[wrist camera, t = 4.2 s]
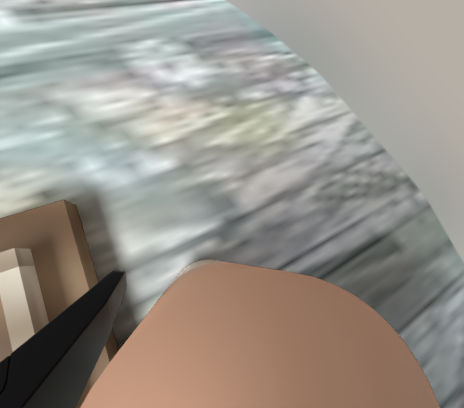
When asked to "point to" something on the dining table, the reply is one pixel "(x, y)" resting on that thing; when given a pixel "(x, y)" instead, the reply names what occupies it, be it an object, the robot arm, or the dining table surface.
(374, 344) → the peach rounded block
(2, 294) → the display stand
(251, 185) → the dining table surface
